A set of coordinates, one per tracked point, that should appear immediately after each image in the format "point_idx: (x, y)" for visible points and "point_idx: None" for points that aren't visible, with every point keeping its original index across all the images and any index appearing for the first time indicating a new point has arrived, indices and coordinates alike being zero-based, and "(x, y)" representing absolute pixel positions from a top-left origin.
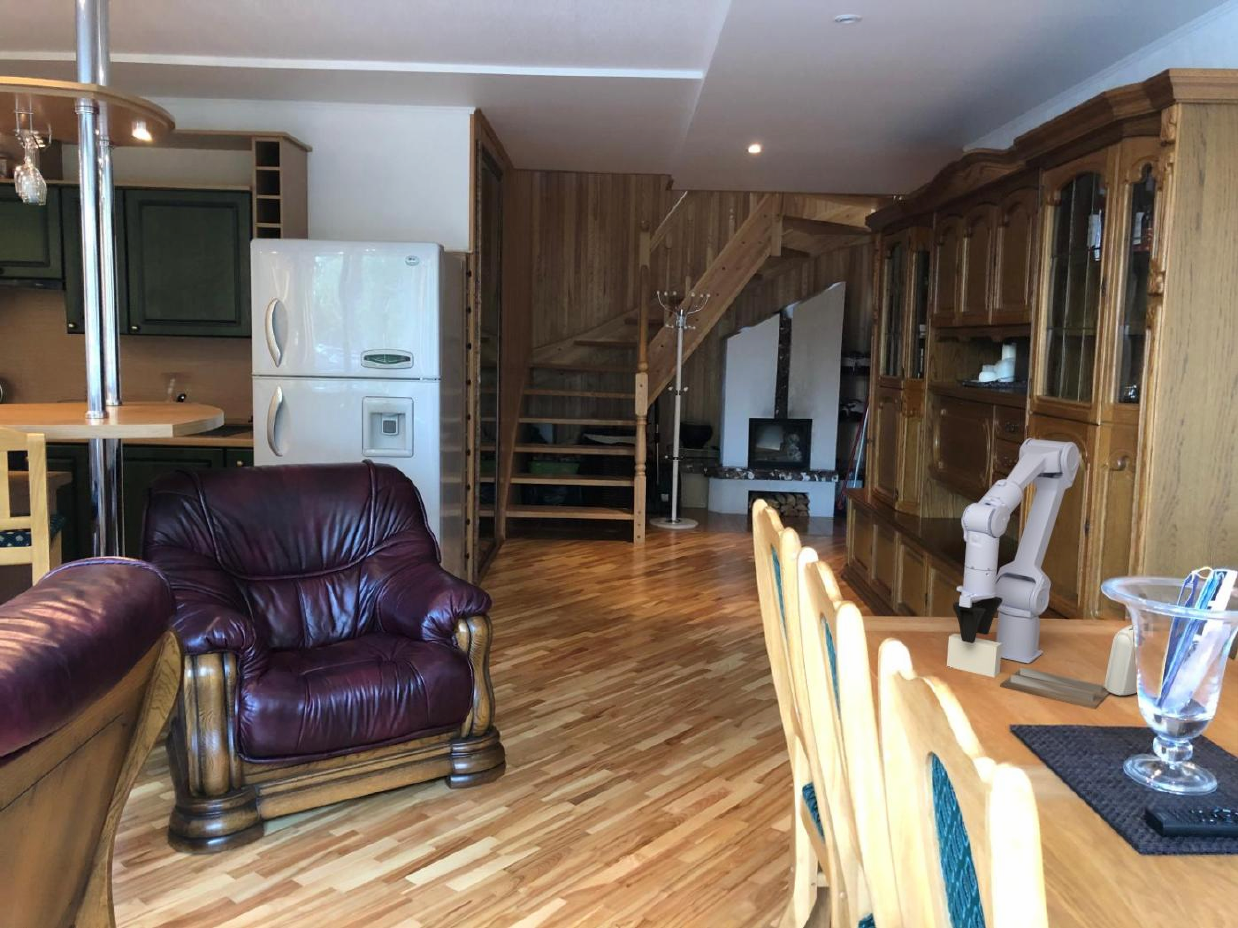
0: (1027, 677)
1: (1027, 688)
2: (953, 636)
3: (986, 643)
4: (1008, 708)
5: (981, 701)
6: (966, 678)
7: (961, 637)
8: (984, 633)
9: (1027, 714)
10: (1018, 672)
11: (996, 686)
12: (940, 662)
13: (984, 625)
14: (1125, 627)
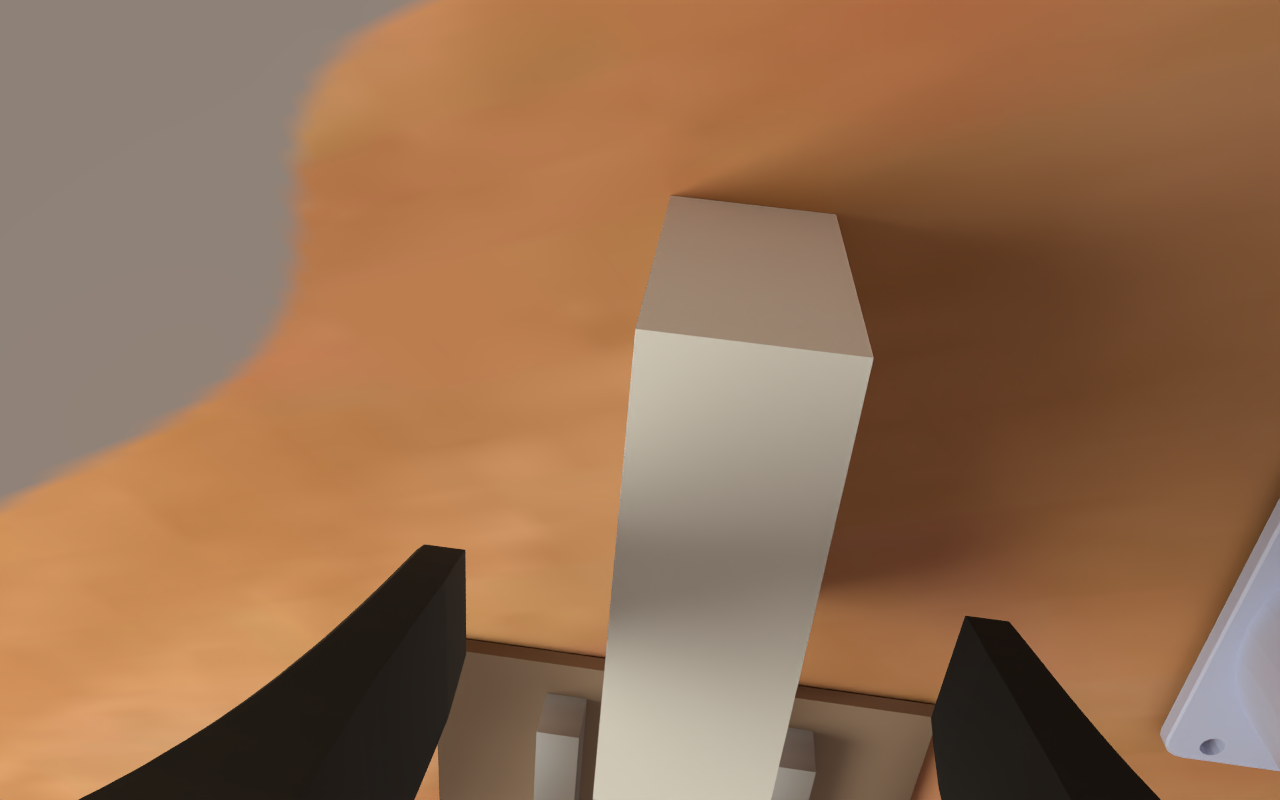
0: None
1: (487, 777)
2: (689, 377)
3: (642, 719)
4: (75, 713)
5: (42, 584)
6: (438, 420)
7: (408, 562)
8: (943, 703)
9: (79, 790)
10: (824, 711)
11: None
12: (764, 102)
13: (968, 789)
14: None
